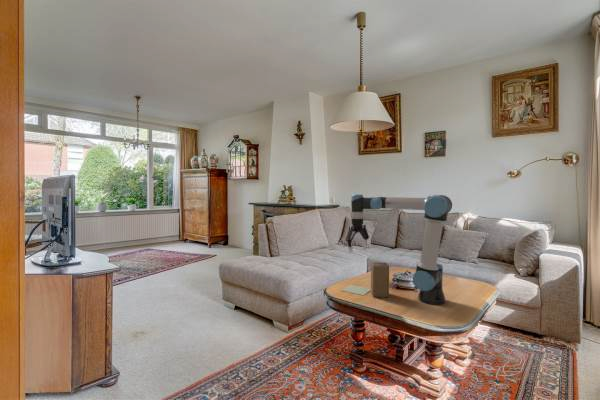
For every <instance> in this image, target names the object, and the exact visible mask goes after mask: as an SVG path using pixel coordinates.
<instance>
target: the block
mask: <svg viewBox="0 0 600 400" xmlns="http://www.w3.org/2000/svg"><path fill="white" fill-rule="evenodd" d="M370 267H371V268H370V289H371V291H370V293H371V296H372V297H373V298H386V299H387V298H389V296H390V266H389V264H388V263H387V262H377V261H376V262H375V261H374V262H371V264H370Z"/></svg>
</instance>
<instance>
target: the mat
mask: <svg viewBox="0 0 600 400" xmlns="http://www.w3.org/2000/svg"><path fill="white" fill-rule="evenodd" d="M341 292H346V293H350V294H354V295H361V296H365V295H366V294H368V293H370V292H371V288H368V287H363V286H358V285H355V284H354V285H353V284H350V285H348V286H345V287H344V288H342V289H341Z"/></svg>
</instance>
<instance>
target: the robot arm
mask: <svg viewBox="0 0 600 400" xmlns="http://www.w3.org/2000/svg"><path fill="white" fill-rule="evenodd" d="M350 202H351V203H350V204H351V225H352V226H351V225H349V226H348V231H347V233H346V234H347V235H346V237H345V241H346V242H347V247H348V252H349V253H353V251H354V250H353V249H354V248H353V246H354V245H353V239H354V237H355V235H356V234H357V233H359V234H360V235H361V238H362V241H361V242H362V250H367V243H368V241H367V240H369V238H370V235H369V233H368V230H367V227H366V224H364V210H374V211H376V210H380V209H383V210H384V209H388V210H389V209H391V210H408V211H409V210H410V211H424V214H423V215H424V216H423V218H424V220H425V222H426V223H425V227H424V229H425V230H424V234H423V235H424V236H423V240H422V241H423V242H422V250H421V254H420V259H419V260H420V261H419V262H417V264H416V267H415V272H414V274H413V275H412V283H413V285H414V286H415V287H416V288H417V289H418V290H419V292H418V296H417V298H418V300H419V301H420V302H422V303H424V304H428V305H436V306H437V305H444V304H446V297H445V293H444V290H443V274H444V273H443V271H444V268H443V267H444V266H443V265H442V264H441V263H438V256H439V250H440V243H441V238H442V233H443V226H444V225H443V224H445V223H446V222H447V219H448V215H449V213H450V212H451V210H452V209H453V202H452V199H450V197H448V196H447V195H445V194H444V195H443V194H434V195H429V196H427V197H402V196H401V197H396V196H395V197H394V196H391V197H389V196H386V197H385V196H378V197H375V196H374V197H365V196H364V195H363V194H352V195H351V201H350Z"/></svg>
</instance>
